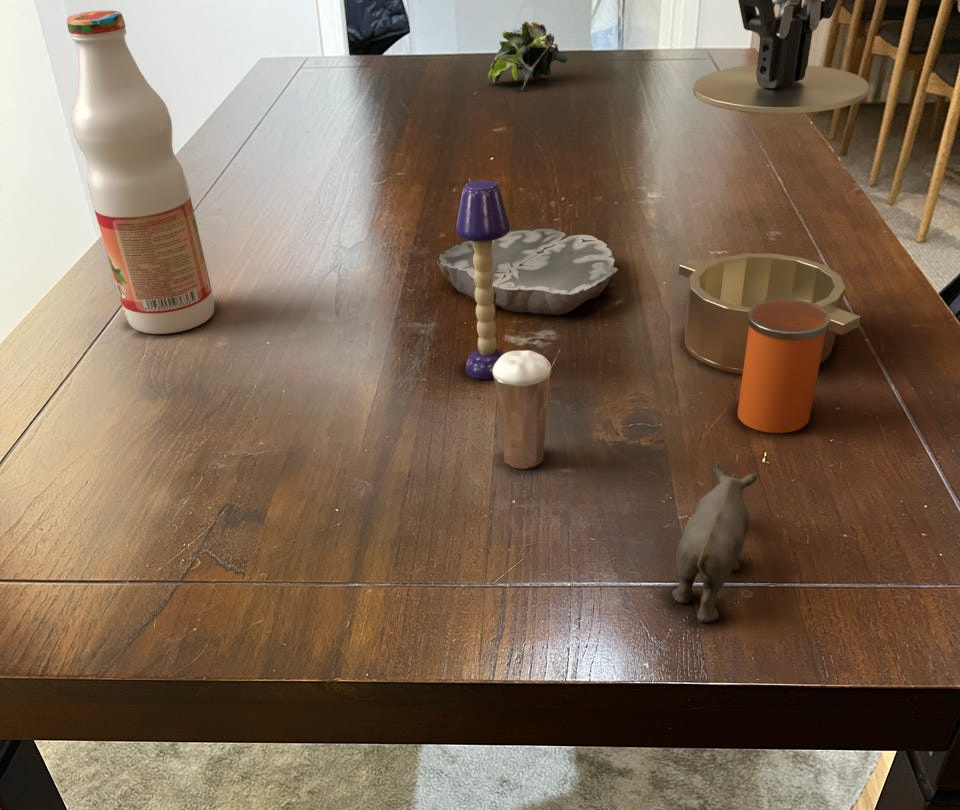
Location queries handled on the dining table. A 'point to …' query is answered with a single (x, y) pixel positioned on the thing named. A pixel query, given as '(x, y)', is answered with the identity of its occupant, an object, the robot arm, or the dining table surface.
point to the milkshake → (522, 405)
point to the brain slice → (536, 270)
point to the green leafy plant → (526, 53)
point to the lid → (782, 86)
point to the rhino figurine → (713, 541)
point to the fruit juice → (137, 183)
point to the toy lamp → (483, 265)
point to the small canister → (781, 364)
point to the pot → (753, 302)
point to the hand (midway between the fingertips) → (780, 81)
